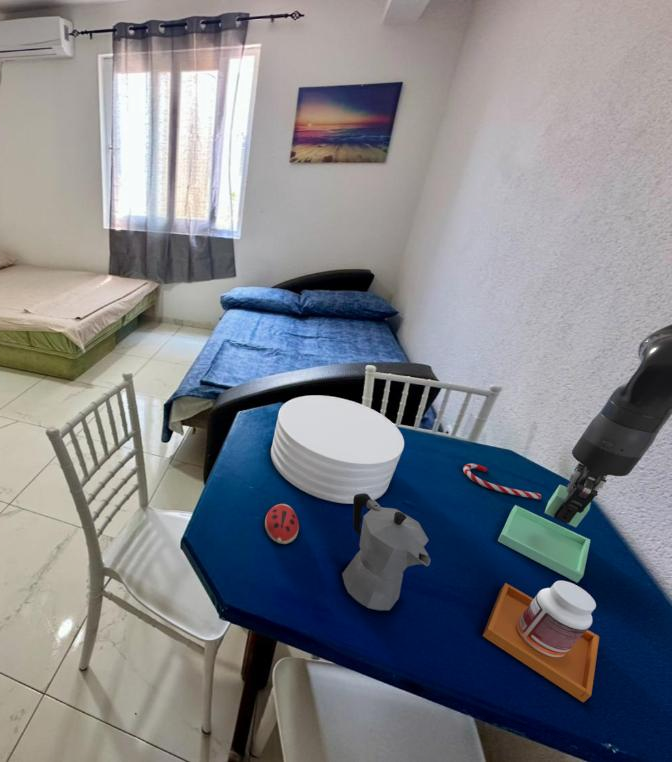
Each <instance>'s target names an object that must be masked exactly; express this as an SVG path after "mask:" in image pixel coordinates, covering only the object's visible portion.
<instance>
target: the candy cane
mask: <svg viewBox="0 0 672 762" xmlns="http://www.w3.org/2000/svg"><path fill="white" fill-rule="evenodd" d="M472 469H473V470H478V471H480V472H482V473H485V472H487V470H488V468H487V467H485V466H482V465H481V464H477V463H467V464H465V465H464V466H463V468H462V470H463V473H464V474H465V476H466V477H467V478H468V479H469V480H471V481H472V482H474V483H476V484H477V485H479V486H482V487H484V488H487V489H490V490H493V491H496V492H499V493H504V494H509V495H512V496H513V495H514V496H517V497H523V498H529V499H534V500H535V499H536V500H541V499H542V494H540V493H538V492H531V491H525V490H520V489H516V488H510V487H507V486H503V485H502V486H501V485H498V484H494V483H491V482H488V481H486V480H484V479H481V478H480V477H478V476H476V475H474V474H473V473H472V472H471V470H472Z"/></svg>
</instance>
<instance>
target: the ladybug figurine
mask: <svg viewBox="0 0 672 762" xmlns="http://www.w3.org/2000/svg"><path fill="white" fill-rule="evenodd" d="M264 528H265V531H266V533H267V535H268V536H269V538H270V539H271V540H273V541H274V542H276V543H277V544H283V545H287V544H290V543H292V542H293V541H294V540H295V539H296V538H297V536H298V534H299V529H300V524H299V519H298V516H297V514H296V512H295V511H294V509H293V508H292V507H291V506H290V505H288V504H286V503H279V504H276V505H274V506H273V507H271V509H269V510H268V512H267V514H266V516H265V519H264Z"/></svg>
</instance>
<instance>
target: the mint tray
mask: <svg viewBox="0 0 672 762" xmlns="http://www.w3.org/2000/svg"><path fill="white" fill-rule="evenodd" d="M497 542H498V543H500V544H502V545H504V546H506V547H508V548H510V549H512V550H514V551H515V552H517V553H519V554H521V555H523V556H525V557H526V558H529V559H531V560H533V561H535V562H537V563H539V564H540V565H541V566H544V567H546V568H548V569H550V570H551V571H554V572H556V573H558V574H559V575H562V576H564V577H565V578H567V579H569V580H571V581H572V582H575V583H576V584H578V583H579V582H580V580H581V579H582V578H583V577H584V575H585V570H586V564H587V560H588V554H589V549H590V544H591V539H589V538H587V537H586V536H583V535H581V534H579V533H577V532H574V531H573V530H570V529H569V528H566V527H564V526H562V525H559V524H558V523H555V522H553V521H551V520H549V519H548V518H547V519H546V518H544V517H542V516H540V515H538V514H537V513H534V512H531V511H529V510H527V509H525V508H523V507H520V506H519V505H516V504H515V505H514V506H513V508H512V509H511V511H510V512H509V515H508V517H507V519H506V522H505V524H504V526H503V528H502V530H501V533H500V535H499V537H498V539H497Z"/></svg>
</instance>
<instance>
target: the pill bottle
mask: <svg viewBox="0 0 672 762" xmlns="http://www.w3.org/2000/svg"><path fill="white" fill-rule="evenodd" d="M596 607H597V603H596V601H595V599H594V598H593V597H592V596H591V594H590V593H588V592H587V591H586V590H585V589H583V588H582V587H581V586H578V585H576V584H575V583H572V582H570V581H566V580H557V581H555V582H554V583H553V584H552V585H551V587H546V588H542V589H540V590H539V591H538V592H537V594H536V595H535V597H534V598H533V601H532V602H531V603H530V605H529V606H528V608H527V609H526V610H525V611H524V613H523V614H522V615H521V617H520V618H519V620H518V622H517V629H518V631H519V633H520V635H521V636H522V638H523V639H524V640H525V641H526V642H527V643H528V644H529V645H530V646H532V647H533V648H534V649H536V650H537V651H539V652H541V653H543V654H545V655H547V656H551V657H562V656H564V655H565V654H566V653H567V652H568V651H569V650H570V649H571V648H572V646H573V645H574V644H575V643H576V642H577V641H578V640H579V638H580V637H581V636H582V635H583V634H584V633H585V632H586V631H587V630H589V628H590V627H591V626H592V624H593V616H592V613H593V612H594V610H596Z"/></svg>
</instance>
